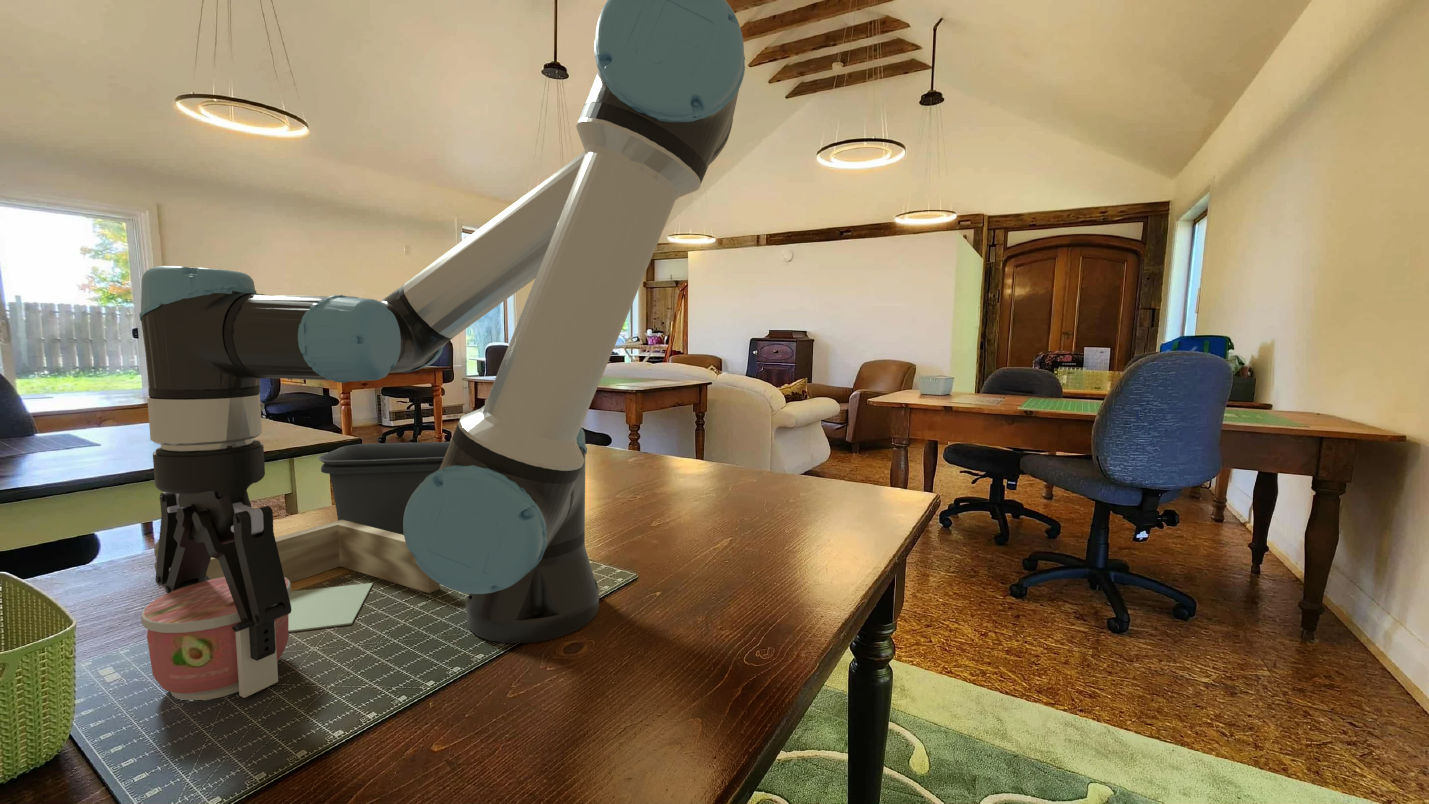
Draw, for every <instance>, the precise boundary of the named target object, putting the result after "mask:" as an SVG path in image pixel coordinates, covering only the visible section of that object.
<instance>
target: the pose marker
mask: <svg viewBox="0 0 1429 804" xmlns="http://www.w3.org/2000/svg"><path fill="white" fill-rule="evenodd" d="M373 585H374V583H373V582H370V583H369V582H368V583H359V584H348V585H340V586H329V587H319V588H310V589H301V590H291V592H290V595H289V600H290V604H291V613H290V614H289V619H288V633H296V632H301V631H302V632H304V631H310V630H311V631H312V630H319V629H320V630H321V629H327V628H333V627H342V626H351V625H353V623H354V621H355V619H356V617H357V615H358V614H359V612H360V610H361V608H362V606H363V604H364V603H365V600H366V599H367V596H368V595H369V592H370V591H371V590H372V587H373Z"/></svg>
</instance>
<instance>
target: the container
mask: <svg viewBox="0 0 1429 804" xmlns="http://www.w3.org/2000/svg"><path fill="white" fill-rule="evenodd" d="M284 579H285V583H286V587H287V591H288V595H290V592H291V591H292V587H291V586H292V585H291V583H290V581H289V580H288V579H287V578H285V577H284ZM140 617H141V624H142V626H143V628H145V629H147V634H146V639H147V646H148V651H149V652H148V654H149V661H150V665H151V672H152V676H153V677H154V679H155V681H156V682H157V683H158V684H159V686H161V688H162V689H164V690H165V691H167V692H170V694H172V695H171V696H172V697H173V696H174V697H176V698H179V699H183V700H203V701H208V700H213V699H218V698H223V697H226V696H229V695H232V694H235V693H239V681H238V665H237V650H236V634H235V631H234V630H233V629H232V627H233V626H234V625H236V624H237V623H240V622H241V620H240V617H239V614H238V612H237V609H236V606H235V603H234V601H233V598H232V595H231V593H230V590H229V587H228V584H227V582H226V579H225V577H221V578H216V579H211V580H207V581H203V582H199V583H196V584H192V585H189V586H186V587H183V588H180V589H177V590H174V591H172V592H170V593H168V594H167V593H166V594H164V595H163V594H162V595H161V596H160V597H157V598H155V599H154V600H153V601H150V603H148V604H147V605H146V606H145V607H144V609H143V610H141V616H140ZM288 619H289V614H288V615H285V616H282V617H280V618H277V619H275V633H276V651H277V662H278V661H279V660H280V659H281V657H282V656H283V654H284V651H285V649H286V647H287V644H288V641H289V632H288ZM174 697H173V698H174ZM176 698H175V699H176Z"/></svg>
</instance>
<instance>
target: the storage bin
mask: <svg viewBox="0 0 1429 804" xmlns="http://www.w3.org/2000/svg"><path fill="white" fill-rule="evenodd" d="M450 442H451V441H441V442H439V441H437V442H436V441H435V442H434V441H433V442H393V443H392V442H390V443H387V442H386V443H380V442H379V443H359V444H352V445H345V446H342V447H338V448H337V449H334V450H332V451H329V452H327V453H324V454H322V455H319V456H318V458H317V459H318V460H319V461H321V462H322V463H323V464H322V465H321V467H320V472H321V473H322V474H327V475H330V477H329V478H330V481H331V482H330V483H331V487H332V493H333V498H334V503H335V510H336V516H337V521H339V520H346V521H350V522H354V523H358V524H362V525H366V526H370V527H374V528H378V529H382V530H386V531H390V532H394V533H398V534H401V535H404V532H403V517H404V512H405V508H406V506H407V503H408V501H409V499H410V497H411V495H412V494H413V492H414V491H415V490H416V489H417V487H418V486H419V484H420V483H422V482H423V481H424V480H425V478H426V477H427V476H428V475H430V474H432V473H434V472H436V471H438V470H439V468H440V466H441V464H442V462H443V459H444V457H445V454H446V452H447V449H448V447H449V444H450Z"/></svg>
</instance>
